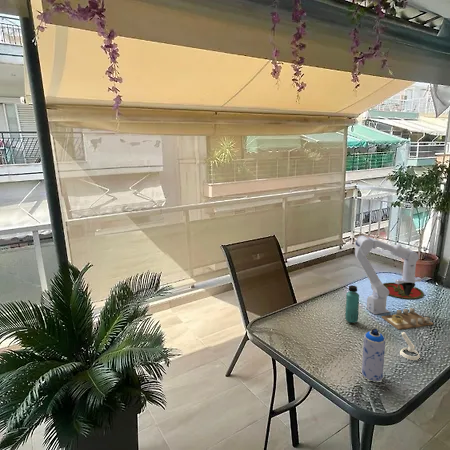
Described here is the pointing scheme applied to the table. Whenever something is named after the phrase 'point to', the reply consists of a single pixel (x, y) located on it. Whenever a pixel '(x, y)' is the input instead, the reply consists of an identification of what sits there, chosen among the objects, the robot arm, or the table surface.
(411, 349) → the hook
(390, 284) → the decorative plate
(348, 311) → the beverage bottle
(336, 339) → the table surface
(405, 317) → the board
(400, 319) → the brass nut
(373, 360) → the aerosol can
